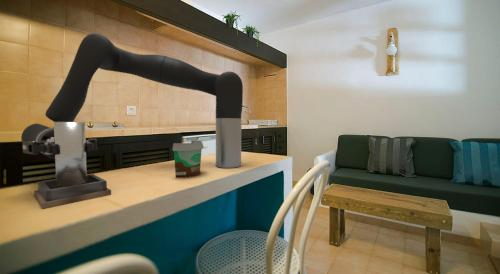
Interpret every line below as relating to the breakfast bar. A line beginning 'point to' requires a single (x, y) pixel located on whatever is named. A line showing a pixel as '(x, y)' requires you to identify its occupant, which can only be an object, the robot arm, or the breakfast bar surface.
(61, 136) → the silver tall shiny block
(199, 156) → the food container
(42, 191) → the holder
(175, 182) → the breakfast bar surface
